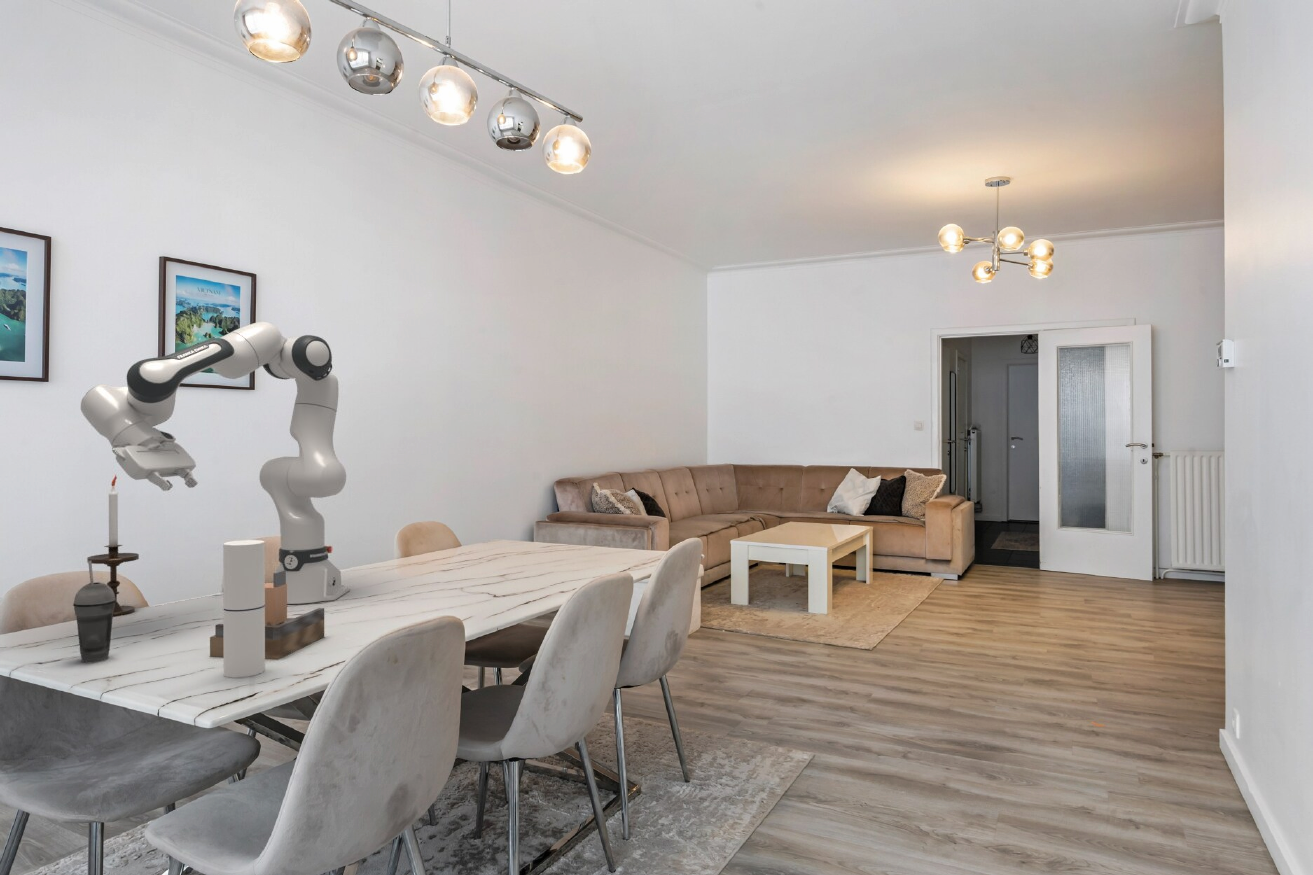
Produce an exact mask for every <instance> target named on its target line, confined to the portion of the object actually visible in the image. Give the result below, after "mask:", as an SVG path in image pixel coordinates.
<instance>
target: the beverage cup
mask: <svg viewBox="0 0 1313 875" xmlns="http://www.w3.org/2000/svg"><path fill="white" fill-rule="evenodd" d="M87 564H88V570H89V571H88V572H89V580H90V581H89V582H90V583H88V584H85V585H84V586H81V588H79V589H78V591H77V592H76V594H75V596H74V600H73V605H72V606H73V609H74V613H75V614H74V615H75V616H76V625H77V634H78V636H77V637H78V644H79V653H80V658H81V663H85V662H91V663H98V662H103V661H106V660H108V659H109V654H110V651H111V650H110V649H111V639H112V638H111V637H112V630H113V629H112V627H113V611H114V608H115V602H116V599H115V594H114V592H113V590H112V589H111V588H110V587H109V586H108V585H107V583H104V582H99V581H98V582H94V574H93V565H92V563H91V561H88V563H87Z"/></svg>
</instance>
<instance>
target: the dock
mask: <svg viewBox="0 0 1313 875" xmlns="http://www.w3.org/2000/svg"><path fill="white" fill-rule="evenodd" d="M214 628H215V630H214V631H215V635H212V636H210V637H209V657H211V658H212V657H215V658H216V657H217V658H224V647H223V623H218V624H215V627H214ZM320 638H321V639H323V638H325V607H318V608H315V609H313V610H311V611H308V612H306V613H304V614H301V615H298V616H296V617H287V620H286V621H285V622H284V623H282V624H277V625H275V626H269V625H265V660H268V659H269V660H279V659H282V658H284V657H286V656H288V655H290V654H292V653H294V652H297V651H298V650H300V649H302V648H304V647H306V645H307V646H309V645H310V643H311V644H313V643H315V642H317V641H319V640H321V639H320ZM314 641H315V642H314ZM291 652H292V653H291ZM281 657H282V658H281Z"/></svg>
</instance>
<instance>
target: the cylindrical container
mask: <svg viewBox="0 0 1313 875" xmlns="http://www.w3.org/2000/svg"><path fill="white" fill-rule="evenodd" d="M222 544H223V548H222V549H223V550H222V551H223V553H222V554H223V556H222V557H223V558H222V560H223V561H222V562H223V563H222V564H223V565H222V566H223V568H222V570H223V571H222V573H223V576H222V577H223V579H222V580H223V581H222V582H223V583H222V584H223V588H222V590H223V593H222V595H223V596H222V597H223V605H222V606H223V613H222V614H223V617H222V618H223V623H222V624H223V647H224V657H223V676H224V677H226V678H233V679H234V678H236V679H240V678H247V677H253V676H256V675H259V673H260V674H262V673H263V671H264V672H265V670H266V659H265V583H266V581H265V580H266V579H265V578H266V566H265V564H266V552H265V551H266V550H265V549H266V546H265V545H266V542H265V540H262V539H261V540H259V539H245V540H242V539H241V540H234V541H233V540H231V541H227V542H224V543H222Z"/></svg>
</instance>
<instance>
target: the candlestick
mask: <svg viewBox="0 0 1313 875" xmlns="http://www.w3.org/2000/svg"><path fill="white" fill-rule="evenodd" d="M117 478H118V477H117V474H115V476H114V477H113V479H112V481H111V489H110V492H108V545H105V546H104V545H103V547H104V548H108V550H107V551H108V553H103V554H96V555H91V556H88V557H87V558H86V560H87V561H86V562H87V564H88V561H91V563H92V564H93V565H94V564H96V565H102V564H103V565H105V566H106V567H109V570H110V572H109V573H110V574H109V576H110V577H109V578H110V580H109V581H107V583H106V585H108V586H109V587H110V588H111V589H112V590H113V592H114V594H115V599H116V602H115V608H114V611H113V617H121V615H122V616H126V615H130V614H133V613H135V612H136V611H135V610H136V609H135V608H136V607H135V606H134V605H120V604H119V602H118V600H117V599H118V598H117V597H118V596H117V595H119V594H120V591H118V587H120V584H121V581H119V580H117V579H118V578H117V577H118V576H117V575H118V574H117V573H118V572H117V571H118V569H117V567H118V566H120V564H123V563H129V562H134V561H137V560H139V559H140V557H139V556H140V555H139V553H135V552H119V547H122V546H124V545H123V544H119V542H118V540H119V536H118V532H119V531H118V529H119V525H118V521H119V520H118V519H119V518H118V517H119V516H118V514H119V513H118V511H119V510H118V506H119V505H118V504H119V502H118V501H119V500H118V494H119V493H118V492H117V491H116V488H115V485H116V480H117Z"/></svg>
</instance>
